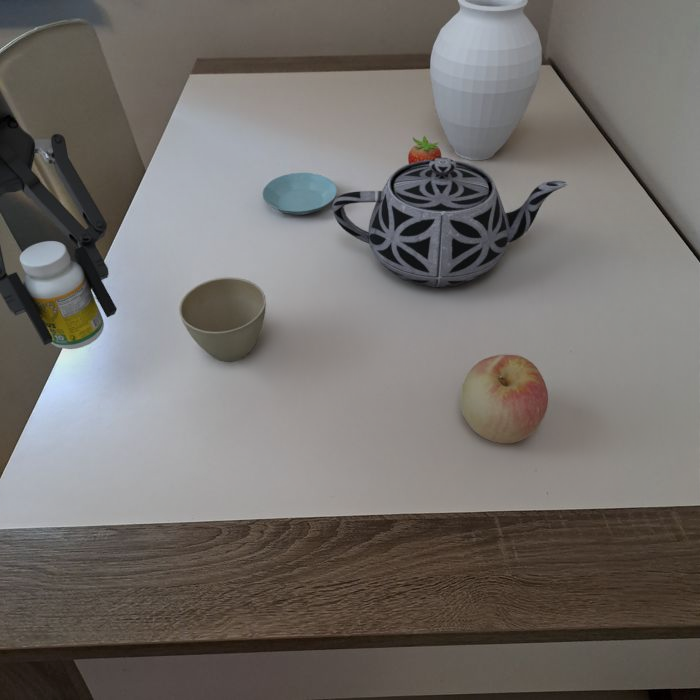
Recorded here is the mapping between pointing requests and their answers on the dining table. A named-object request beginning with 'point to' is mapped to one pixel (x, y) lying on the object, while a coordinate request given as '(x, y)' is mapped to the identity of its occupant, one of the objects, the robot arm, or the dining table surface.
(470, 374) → the apple
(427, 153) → the fruit
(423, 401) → the dining table surface
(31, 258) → the supplement bottle
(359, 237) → the teapot
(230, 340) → the bowl
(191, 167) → the dining table surface
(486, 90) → the vase
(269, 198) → the saucer
